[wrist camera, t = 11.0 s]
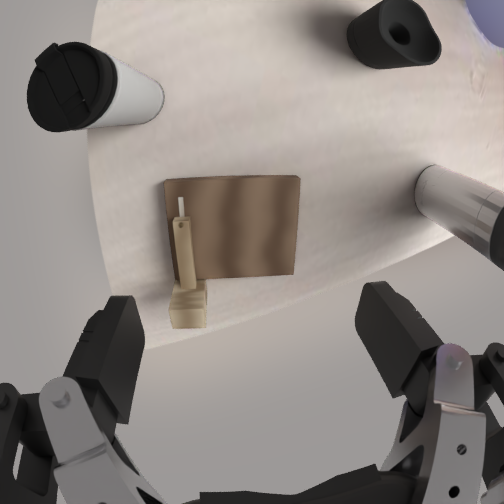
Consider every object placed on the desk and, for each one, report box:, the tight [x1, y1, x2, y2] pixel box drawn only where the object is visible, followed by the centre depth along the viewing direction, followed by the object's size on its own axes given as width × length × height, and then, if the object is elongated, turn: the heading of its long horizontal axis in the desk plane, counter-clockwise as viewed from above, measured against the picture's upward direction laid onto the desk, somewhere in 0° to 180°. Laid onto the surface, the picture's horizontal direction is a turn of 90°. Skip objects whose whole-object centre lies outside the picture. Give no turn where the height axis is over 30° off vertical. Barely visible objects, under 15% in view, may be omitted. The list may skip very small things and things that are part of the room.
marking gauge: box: [169, 216, 207, 329], centre depth 35 cm, size 4×13×8 cm, turn 0°
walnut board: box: [164, 175, 300, 280], centre depth 37 cm, size 17×14×2 cm
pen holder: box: [347, 0, 441, 69], centre depth 23 cm, size 9×9×10 cm
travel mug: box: [27, 42, 164, 132], centre depth 20 cm, size 6×7×20 cm
